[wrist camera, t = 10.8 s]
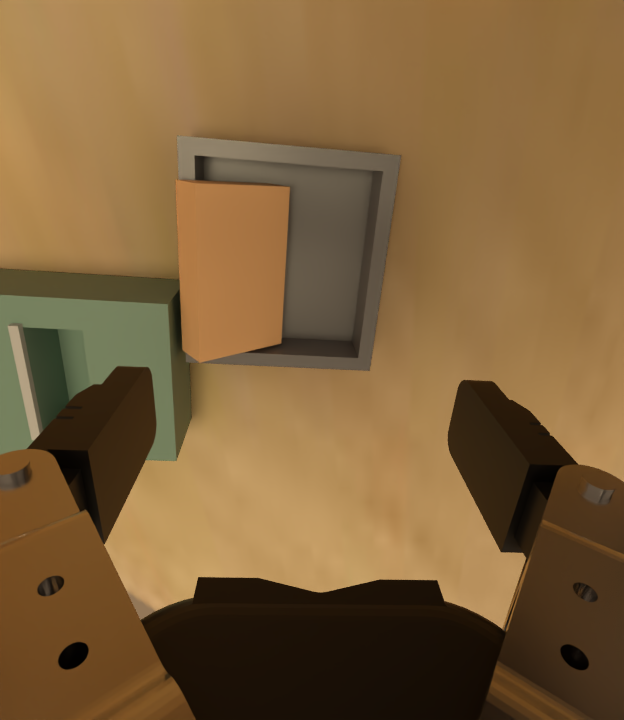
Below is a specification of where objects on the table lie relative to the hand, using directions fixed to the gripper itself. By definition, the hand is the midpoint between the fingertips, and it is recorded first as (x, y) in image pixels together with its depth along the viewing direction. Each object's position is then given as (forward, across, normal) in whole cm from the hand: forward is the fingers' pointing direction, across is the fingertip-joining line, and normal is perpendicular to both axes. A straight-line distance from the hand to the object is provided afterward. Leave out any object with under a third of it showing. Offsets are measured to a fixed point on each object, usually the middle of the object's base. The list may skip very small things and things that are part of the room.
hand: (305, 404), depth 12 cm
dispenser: (+17, +13, +6) cm, 23 cm away
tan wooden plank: (+14, +4, +5) cm, 15 cm away
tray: (+18, +1, 0) cm, 18 cm away
